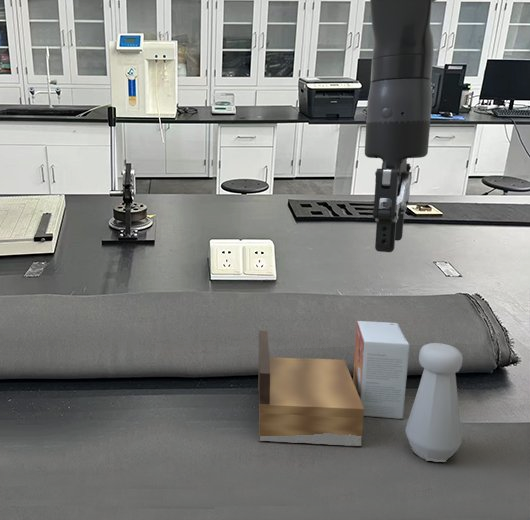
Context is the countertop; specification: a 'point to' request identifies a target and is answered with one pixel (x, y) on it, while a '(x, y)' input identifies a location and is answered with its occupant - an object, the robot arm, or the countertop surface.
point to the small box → (381, 368)
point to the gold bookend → (306, 396)
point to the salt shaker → (436, 404)
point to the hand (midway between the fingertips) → (389, 245)
